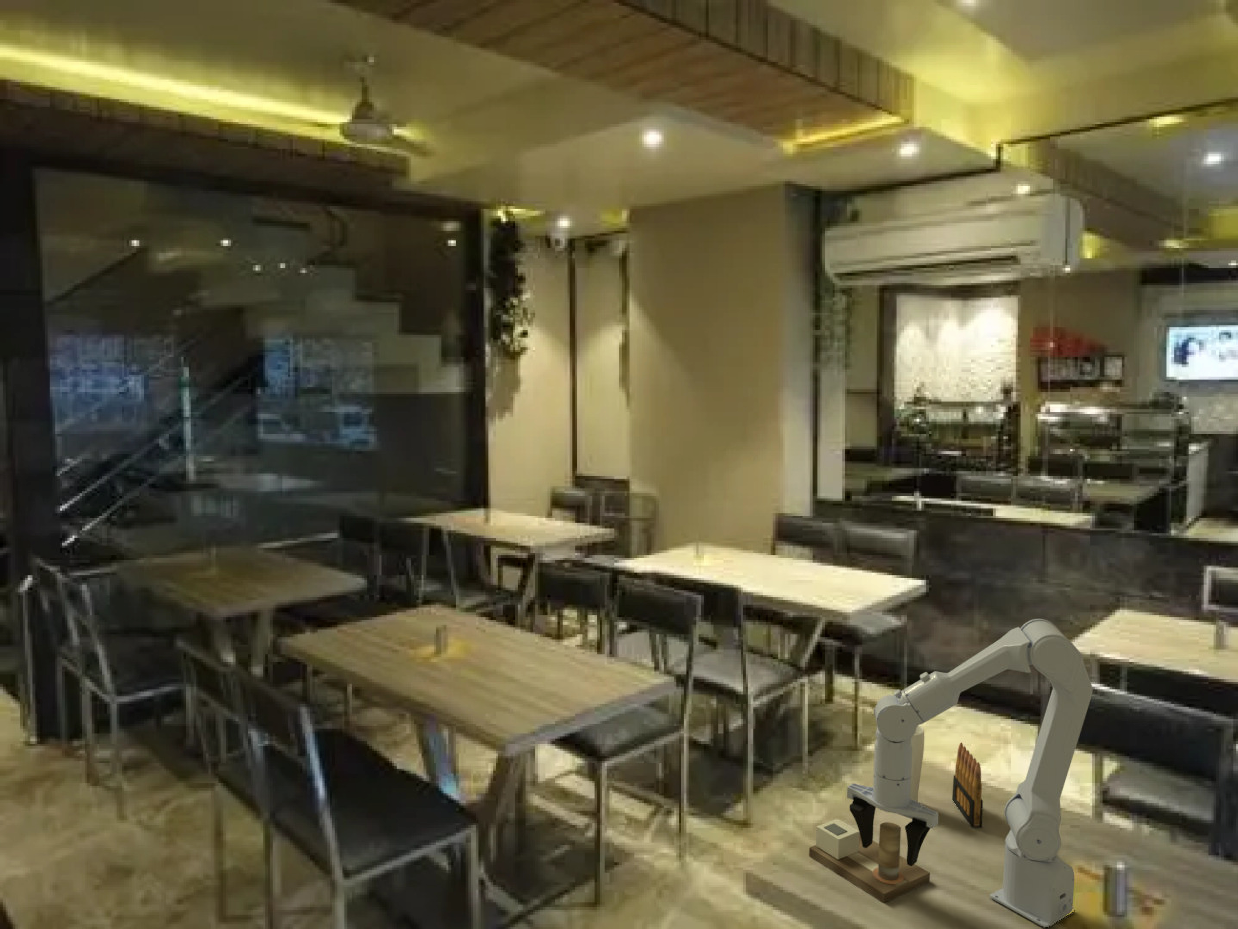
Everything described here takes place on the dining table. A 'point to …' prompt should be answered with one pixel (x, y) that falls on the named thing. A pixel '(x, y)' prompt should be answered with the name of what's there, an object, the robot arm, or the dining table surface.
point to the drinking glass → (916, 761)
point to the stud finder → (837, 838)
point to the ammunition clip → (968, 787)
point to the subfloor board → (872, 871)
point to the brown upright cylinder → (889, 851)
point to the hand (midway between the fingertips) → (889, 854)
